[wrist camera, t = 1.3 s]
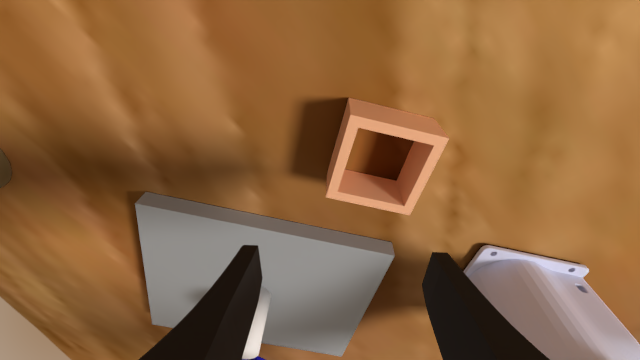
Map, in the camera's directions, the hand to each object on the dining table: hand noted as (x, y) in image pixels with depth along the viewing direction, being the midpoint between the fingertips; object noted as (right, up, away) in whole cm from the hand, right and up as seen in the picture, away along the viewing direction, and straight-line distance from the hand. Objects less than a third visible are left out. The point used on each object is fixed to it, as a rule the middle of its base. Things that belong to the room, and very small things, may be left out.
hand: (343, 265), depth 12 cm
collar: (+3, +6, +8) cm, 10 cm away
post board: (-7, -6, +16) cm, 18 cm away
